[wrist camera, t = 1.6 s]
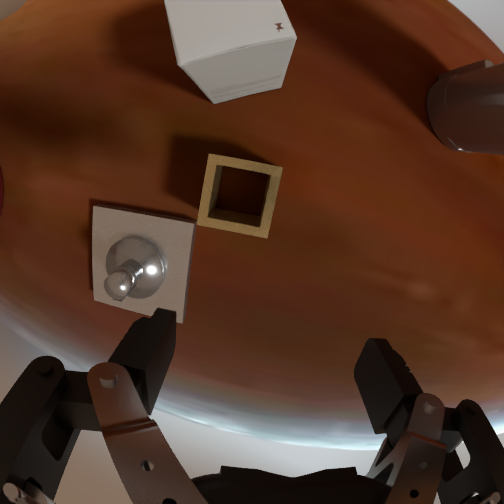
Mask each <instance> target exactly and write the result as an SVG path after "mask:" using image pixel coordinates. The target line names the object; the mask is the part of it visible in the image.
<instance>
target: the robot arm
mask: <svg viewBox="0 0 504 504" xmlns="http://www.w3.org/2000/svg"><path fill="white" fill-rule="evenodd" d="M427 113H428V118H429V121H430V124H431V126H432V128H433V130H434V132H435V134H436V135H437V137H438V138H439V140H440V141H441V142H442V143H443V144H444V145H445V146H447V147H448V148H450V149H452V150H455V151H463V152H477V153H489V154H499V155H504V63H502V64H497V65H494V64H493V63H492V62H491V61H489V60H486V59H485V60H481V61H478V62H475V63H472V64H469V65H465V66H462V67H459V68H456V69H453V70H451V71H448V72H445V73H442V74H439V75H438V81H437V82H436V83H435V84H434V85H432V87H431V88H430V90H429V93H428V96H427ZM176 317H177V315H176V311H173V310H168V309H163V308H159V307H158V308H157V309H156V310H155V312H154V314H153V315H152V317H151V318H147V317H142V318H140V319H138V320H137V321H135V322H134V323H133V324H132V326H131V327H130V328H129V330H128V332H127V333H126V334H125V336H124V339H122V340H121V342H120V343H119V345H118V346H117V348H116V350H115V351H114V353H113V354H112V356H111V357H110V359H109V360H108V362H104V363H99V364H97V365H95V366H93V367H92V368H91V369H90V370H89V372H78V371H68V370H65V368H64V365H63V363H62V362H61V361H60V360H59V359H57V358H55V357H52V356H41V357H38V358H36V359H34V360H33V361H32V362H31V363H30V364H29V365H28V366H27V368H26V369H25V370H24V372H23V373H22V374H21V376H20V377H19V378H18V380H17V381H16V383H15V384H14V385H13V387H12V388H11V389H10V391H9V392H8V394H7V395H6V397H5V398H4V399H3V401H2V402H1V404H0V504H56V503H55V502H54V501H53V500H54V497H55V495H56V492H57V489H58V486H59V483H60V480H61V478H62V475H63V473H64V470H65V467H66V465H67V462H68V459H69V457H70V455H71V452H72V450H73V447H74V445H75V443H76V440H77V438H78V436H79V433H80V431H81V430H91V431H101V432H102V434H103V437H104V439H105V442H106V445H107V448H108V450H109V453H110V455H111V458H112V460H113V463H114V465H115V467H116V469H117V471H118V474H119V476H120V478H121V481H122V483H123V485H124V487H125V489H126V491H127V493H128V495H129V497H130V499H131V501H132V503H133V504H433V503H434V500H435V497H436V493H437V492H438V496H439V499H440V502H441V504H504V448H503V446H502V444H501V442H500V440H499V438H498V437H497V435H496V433H495V431H494V429H493V428H492V426H491V424H490V422H489V421H488V419H487V417H486V416H485V414H484V412H483V410H482V409H481V407H480V406H479V405H478V404H477V403H476V402H474V401H472V400H469V399H465V400H462V401H461V402H460V403H459V405H458V406H457V407H456V408H448V407H444V404H443V403H442V401H441V400H440V399H439V398H438V397H436V396H435V395H432V394H429V393H424V392H423V391H422V389H421V387H420V386H419V384H418V382H417V381H416V379H415V377H414V376H413V374H412V373H411V371H410V369H409V367H407V364H406V363H405V361H404V359H403V358H402V357H401V356H400V355H399V354H398V353H397V352H396V351H395V350H393V349H392V347H391V346H390V344H389V342H388V341H387V340H386V339H381V338H369V339H368V340H367V342H366V344H365V346H364V348H363V350H362V352H361V355H360V357H359V359H358V361H357V363H356V365H355V369H354V378H355V381H356V383H357V386H358V389H359V391H360V394H361V397H362V399H363V402H364V405H365V407H366V410H367V413H368V416H369V418H370V421H371V424H372V427H373V430H374V432H375V434H382V433H386V434H387V437H386V438H385V439H384V441H383V443H382V445H381V447H380V449H379V452H378V454H377V456H376V458H375V460H374V462H373V464H372V466H371V468H370V470H369V472H368V473H367V475H366V476H361V475H357V471H356V467H349V468H337V469H325V470H322V471H318V472H315V473H311V474H307V475H304V476H299V477H286V476H282V475H278V474H274V473H269V472H266V471H262V470H258V469H248V468H237V467H229V466H221V469H220V473H218V474H209V475H203V476H199V477H196V478H193V479H190V478H189V476H188V475H187V473H186V472H185V470H184V469H183V467H182V466H181V464H180V462H179V461H178V459H177V458H176V456H175V454H174V453H173V451H172V449H171V448H170V446H169V444H168V443H167V441H166V439H165V438H164V436H163V434H162V432H161V430H160V429H159V427H158V425H157V423H156V422H155V421H154V420H151V419H150V418H149V417H148V415H151V413H152V410H153V408H154V405H155V402H156V400H157V397H158V394H159V391H160V389H161V386H162V383H163V381H164V378H165V376H166V373H167V370H168V368H169V365H170V363H171V360H172V357H173V354H174V350H175V343H176ZM462 441H464V443H465V445H466V447H467V450H468V452H469V454H470V462H469V465H468V466H467V467H466V468H465V469H463V467H462V464H461V462H460V459H459V457H458V455H457V453H456V450H455V448H456V447H457V446H458V445H459V444H460V443H461V442H462Z"/></svg>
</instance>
